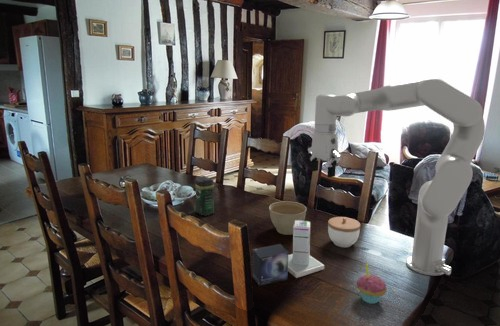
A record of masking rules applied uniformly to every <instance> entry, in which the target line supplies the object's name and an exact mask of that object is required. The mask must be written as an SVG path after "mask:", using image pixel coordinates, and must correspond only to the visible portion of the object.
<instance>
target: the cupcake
mask: <svg viewBox="0 0 500 326" xmlns="http://www.w3.org/2000/svg"><path fill="white" fill-rule="evenodd" d="M365 270H366V271H365V272H366V274H365V275H362V276H360V277H359V278H358V279H357V280H356V287H357V289H358V291H359V292H360V296H361V300H363V301H364V302H365V303H368V304H373V305H374V304H377V303H378V302H379V300H380V298H381V297H383V296H384V295H386V293H387V284H386V283H385V281H384V280H383V279H381V278H380V277H378V276H376V275H372V274H370V271H369V263H367V261H365Z"/></svg>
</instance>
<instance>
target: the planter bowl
mask: <svg viewBox="0 0 500 326" xmlns="http://www.w3.org/2000/svg"><path fill="white" fill-rule="evenodd" d="M268 209H269V210H268V211H269V216H270V217H269V218H270V220H271V222H272V225H273V226H274V227H275V229H276V231H277V233H279V234H281V235H287V236H288V235H290V236H292V235H293V226H294V222H295V220H296V221H297V220H301V221H305V219H306V214H307V206H305V205H304V204H303V203H300V202H297V201H285V200H284V201H277V202H273V203H271V204H270V205H269V207H268Z"/></svg>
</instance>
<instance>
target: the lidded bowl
mask: <svg viewBox="0 0 500 326" xmlns="http://www.w3.org/2000/svg"><path fill="white" fill-rule="evenodd" d="M361 226H362V225H361V223H360V222H359V220H356V219H355V218H350V217H347V216H334V217H331V218H329V220H328V221H327V231H328V236H329V238H330V240H331V241H332V242H333V244H334V245H335V246H337V247H340V248H350V247H351V246H352V245H353V244H355V243H356V242H357V241H358V239H359V235H360V230H361Z"/></svg>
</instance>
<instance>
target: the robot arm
mask: <svg viewBox="0 0 500 326" xmlns="http://www.w3.org/2000/svg"><path fill="white" fill-rule="evenodd" d="M423 106H425V107H427V108H428V109H430V110H431V111H432V112H434V113H436V114H438V115H439V116H441V117H443V118H444V119H446V120H448V121H450V122H451V123H453V129H452V130H453V131H452V133H451V136H450V138H449V141H448V143H447V144H446V146H445V148H444V149H443V151H442V153H441V155H440V156H439V157H438V159H437V161H436V164H435V165H434V166H435V175H434V176H433V179H432V180H429V181H426V182H424V183H423V184H422V185H421V187H420V188H419V191H418V197H417V198H418V199H417V211H416V220H415V228H414V236H413V246H412V250H411V251H412V253H411V256H408V257H407V258H406V265H407V267H408V268H410V270H412V271H414V272H416V273H418V274H421V275H426V276H432V277H436V276H442V275H444V274H445V275H447V276H450V275H451V274H452V270H453V269H452V268H453V267H451V266H449V265H447V264H446V259H445V258H444V257H443V256H444V247H445V241H446V234H447V229H448V222H449V220H448V219H449V216H450V215H451V214H452V213H453V212H454V210H455V209H456V207H457V206H458V204H459V203H460V201H461V199H462V198H463V196H464V195H465V193H466V191H467V190H468V188H469V186H470V184H471V183H472V180H473V172H474V171H473V168H472V165H471V164H472V162H473V159H474V158H475V156H476V154H477V152H478V151H479V148H480V147H481V144H482V143H483V140H484V137H485V133H486V132H485V128H486V127H485V126H486V125H485V120H484V116H483V111H484V110H483V107H482V105H481V103H480V102H479V101H477V100H476V99H474V98H472V96H469V95H467V94H466V93H464V92H462V91H460V90H459V89H457V88H456V87H454V86H452V85H451V84H449V83H448V82H445V81H444V80H443V79H441V78H438V77H427V78H422V79H417V80H410V81H404V82H400V83H395V84H389V85H384V86H382V87H378V88H375V89H369V90H364V91H359V92H353V93H348V94H342V95H335V94H318V95H317V96H316V98H315V109H314V111H315V112H314V130H313V134H312V135H313V136H312V140H311V146H310V147H308V148H307V151H308V157H309V161H310V172H317V171H319V160H322V161H325V162H327V164H328V166H327V178H334V177H336V168H337V166H338V165H339V164H340V162H341V161H340V160H341V158H342V156H341V154H339V152H338V150H339V148H338V147H339V146H338V134H337V133H336V130H337V128H336V125H337V116H340V117H351V116H353V115H355V114H359V113H367V112H373V111H390V112H391V111H397V110H404V109H410V108H415V107H423Z"/></svg>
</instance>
